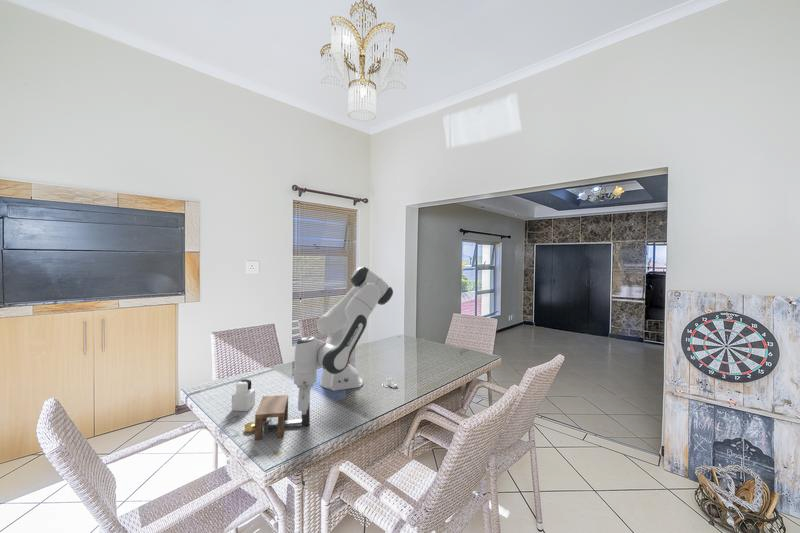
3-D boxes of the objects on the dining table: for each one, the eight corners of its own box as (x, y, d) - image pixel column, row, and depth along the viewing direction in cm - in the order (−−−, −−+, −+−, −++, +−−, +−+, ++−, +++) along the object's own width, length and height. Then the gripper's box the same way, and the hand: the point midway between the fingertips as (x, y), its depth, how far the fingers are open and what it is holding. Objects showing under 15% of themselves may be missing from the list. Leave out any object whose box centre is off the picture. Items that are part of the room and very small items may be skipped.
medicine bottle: (239, 403, 152) (240, 377, 152) (255, 404, 152) (255, 378, 151) (231, 410, 145) (231, 383, 145) (247, 411, 145) (248, 384, 144)
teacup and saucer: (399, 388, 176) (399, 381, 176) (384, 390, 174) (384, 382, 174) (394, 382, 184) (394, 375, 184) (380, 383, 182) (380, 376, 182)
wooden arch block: (287, 417, 141) (288, 395, 141) (283, 437, 126) (283, 412, 125) (262, 418, 139) (263, 396, 139) (254, 440, 123) (255, 414, 123)
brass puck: (259, 426, 134) (259, 421, 133) (257, 432, 129) (257, 427, 129) (246, 427, 132) (246, 422, 132) (243, 434, 127) (243, 429, 127)
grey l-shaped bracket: (310, 418, 139) (309, 390, 139) (309, 428, 132) (308, 398, 131) (267, 422, 136) (267, 393, 135) (263, 433, 128) (263, 402, 128)
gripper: (312, 387, 125) (311, 423, 125) (314, 368, 145) (313, 400, 145) (294, 388, 124) (293, 425, 124) (299, 369, 144) (298, 400, 144)
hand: (304, 411), depth 135 cm, fingers closed on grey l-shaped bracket, 2 cm apart
